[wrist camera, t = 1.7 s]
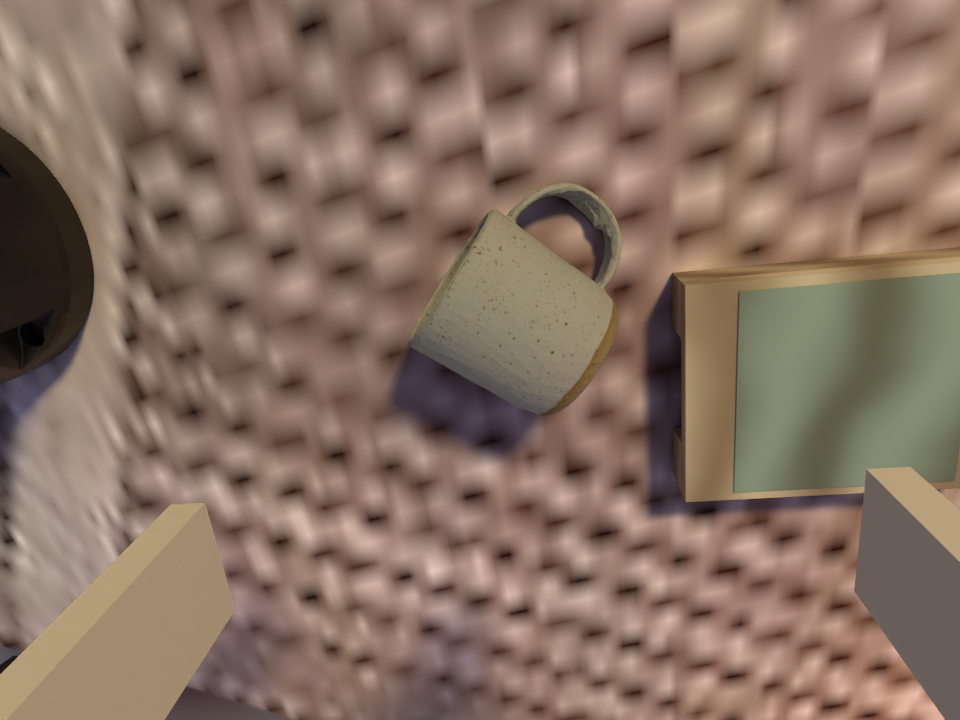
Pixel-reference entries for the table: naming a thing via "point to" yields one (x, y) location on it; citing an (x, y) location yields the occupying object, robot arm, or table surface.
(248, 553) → the table surface
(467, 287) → the ceramic mug
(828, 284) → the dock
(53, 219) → the robot arm
